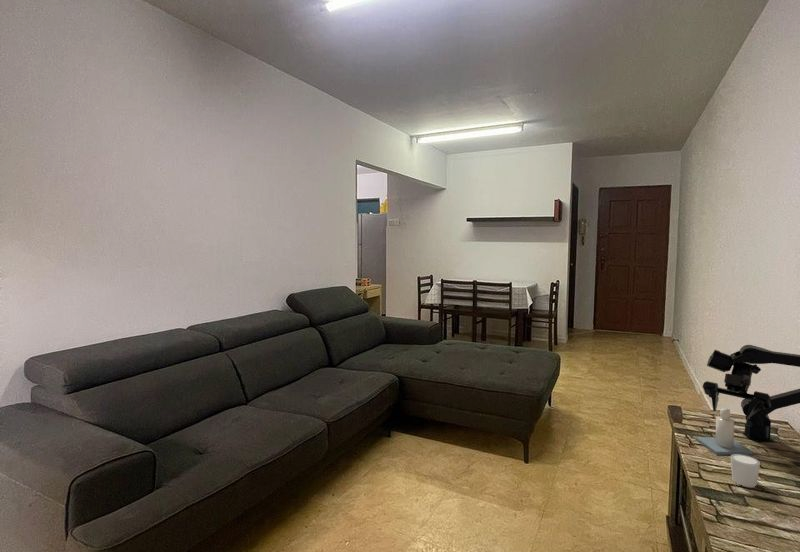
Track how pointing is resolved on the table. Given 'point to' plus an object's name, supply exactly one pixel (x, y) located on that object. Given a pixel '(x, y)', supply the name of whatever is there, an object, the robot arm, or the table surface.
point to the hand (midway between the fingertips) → (729, 414)
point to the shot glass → (744, 470)
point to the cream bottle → (725, 429)
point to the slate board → (718, 450)
